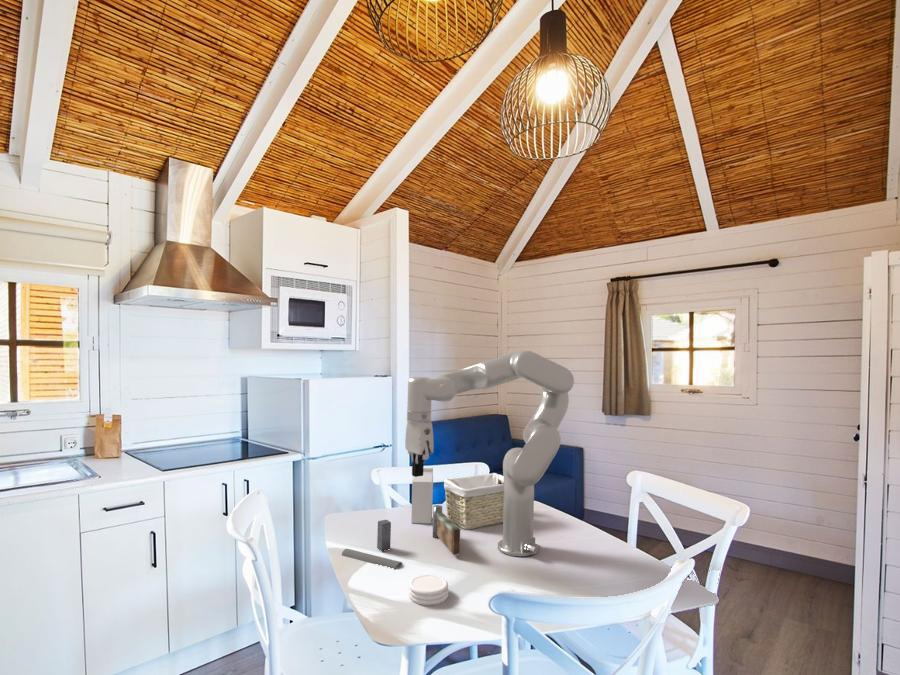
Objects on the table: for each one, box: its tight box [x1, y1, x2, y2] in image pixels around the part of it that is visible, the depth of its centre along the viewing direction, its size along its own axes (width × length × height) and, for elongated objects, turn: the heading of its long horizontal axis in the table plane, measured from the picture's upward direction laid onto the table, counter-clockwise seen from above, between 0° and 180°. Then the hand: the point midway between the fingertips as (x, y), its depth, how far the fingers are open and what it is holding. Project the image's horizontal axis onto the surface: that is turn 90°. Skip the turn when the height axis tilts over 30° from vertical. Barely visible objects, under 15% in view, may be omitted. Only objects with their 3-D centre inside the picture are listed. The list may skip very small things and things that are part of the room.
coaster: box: [408, 574, 449, 606], centre depth 127 cm, size 10×10×4 cm
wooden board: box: [437, 512, 461, 555], centre depth 158 cm, size 16×2×7 cm, turn 20°
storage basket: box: [443, 472, 504, 530], centre depth 185 cm, size 24×16×15 cm
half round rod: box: [341, 548, 403, 570], centre depth 148 cm, size 4×20×2 cm, turn 63°
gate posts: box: [376, 504, 443, 552], centre depth 161 cm, size 3×23×10 cm, turn 125°
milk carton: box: [410, 467, 434, 524], centre depth 182 cm, size 7×7×19 cm
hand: (417, 475), depth 156 cm, fingers closed
